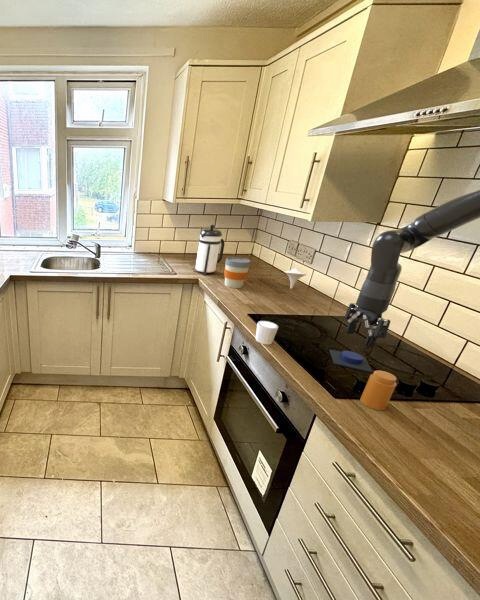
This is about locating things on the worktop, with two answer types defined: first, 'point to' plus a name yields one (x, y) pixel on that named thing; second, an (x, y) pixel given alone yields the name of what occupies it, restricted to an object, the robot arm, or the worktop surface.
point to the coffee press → (209, 250)
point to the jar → (378, 390)
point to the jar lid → (351, 357)
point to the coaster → (338, 361)
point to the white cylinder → (266, 332)
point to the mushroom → (294, 276)
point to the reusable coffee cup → (236, 271)
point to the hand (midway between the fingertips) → (358, 339)
